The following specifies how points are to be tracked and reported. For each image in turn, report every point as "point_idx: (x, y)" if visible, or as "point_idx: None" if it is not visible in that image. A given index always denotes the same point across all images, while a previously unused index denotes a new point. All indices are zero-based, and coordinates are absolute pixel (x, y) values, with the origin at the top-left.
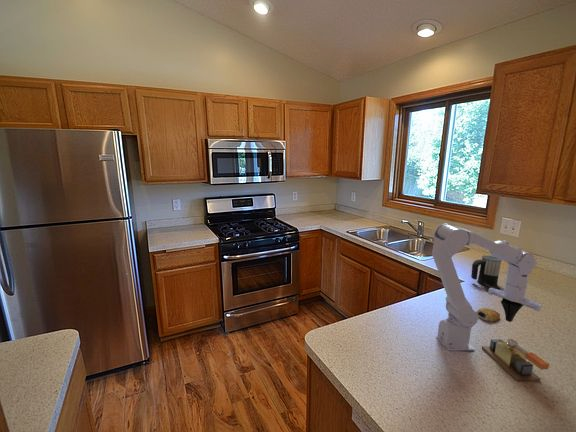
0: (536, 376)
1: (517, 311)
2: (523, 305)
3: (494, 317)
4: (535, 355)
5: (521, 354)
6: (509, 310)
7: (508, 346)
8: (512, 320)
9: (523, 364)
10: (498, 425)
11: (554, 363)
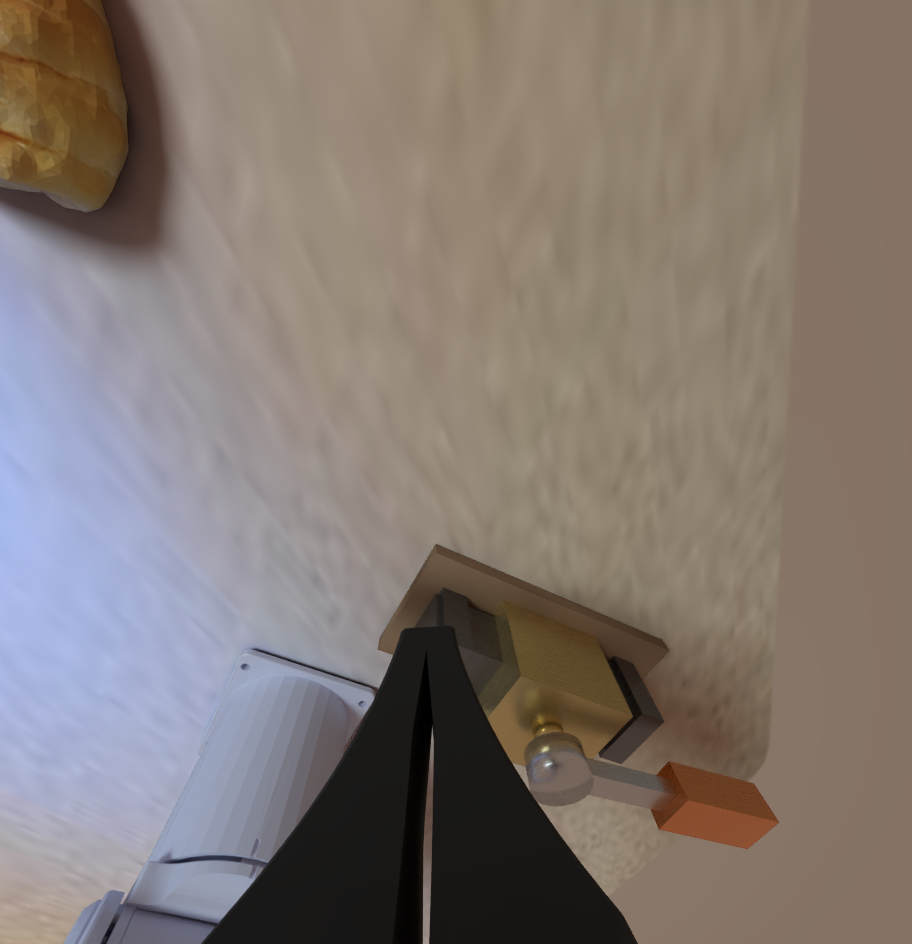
0: (652, 650)
1: (505, 768)
2: (631, 937)
3: (89, 90)
4: (708, 811)
5: (609, 738)
6: (419, 849)
7: (530, 733)
8: (455, 637)
9: (626, 754)
10: (612, 887)
11: (701, 406)
